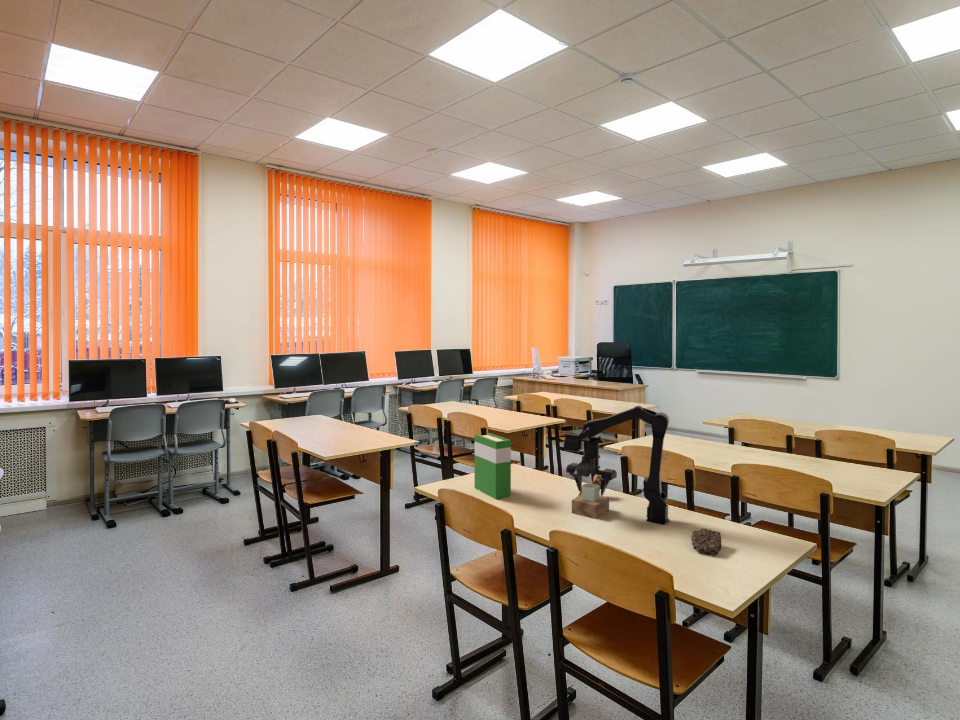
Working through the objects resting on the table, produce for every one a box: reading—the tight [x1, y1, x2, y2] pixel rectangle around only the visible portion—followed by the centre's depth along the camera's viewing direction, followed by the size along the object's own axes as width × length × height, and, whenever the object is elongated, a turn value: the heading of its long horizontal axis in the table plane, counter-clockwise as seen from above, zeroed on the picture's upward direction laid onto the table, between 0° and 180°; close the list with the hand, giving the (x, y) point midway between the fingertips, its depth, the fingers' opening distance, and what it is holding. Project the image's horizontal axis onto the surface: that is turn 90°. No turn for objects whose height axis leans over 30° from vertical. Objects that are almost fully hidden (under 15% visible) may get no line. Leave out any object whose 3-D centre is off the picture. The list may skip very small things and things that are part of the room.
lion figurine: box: [577, 474, 602, 497], centre depth 217 cm, size 15×5×9 cm, turn 133°
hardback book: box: [474, 432, 512, 500], centre depth 224 cm, size 18×7×24 cm, turn 30°
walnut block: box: [571, 494, 610, 520], centre depth 201 cm, size 10×12×5 cm
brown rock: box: [690, 528, 723, 556], centre depth 167 cm, size 12×10×5 cm
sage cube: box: [581, 482, 601, 502], centre depth 201 cm, size 5×5×5 cm
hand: (590, 493), depth 201 cm, fingers open, 9 cm apart
